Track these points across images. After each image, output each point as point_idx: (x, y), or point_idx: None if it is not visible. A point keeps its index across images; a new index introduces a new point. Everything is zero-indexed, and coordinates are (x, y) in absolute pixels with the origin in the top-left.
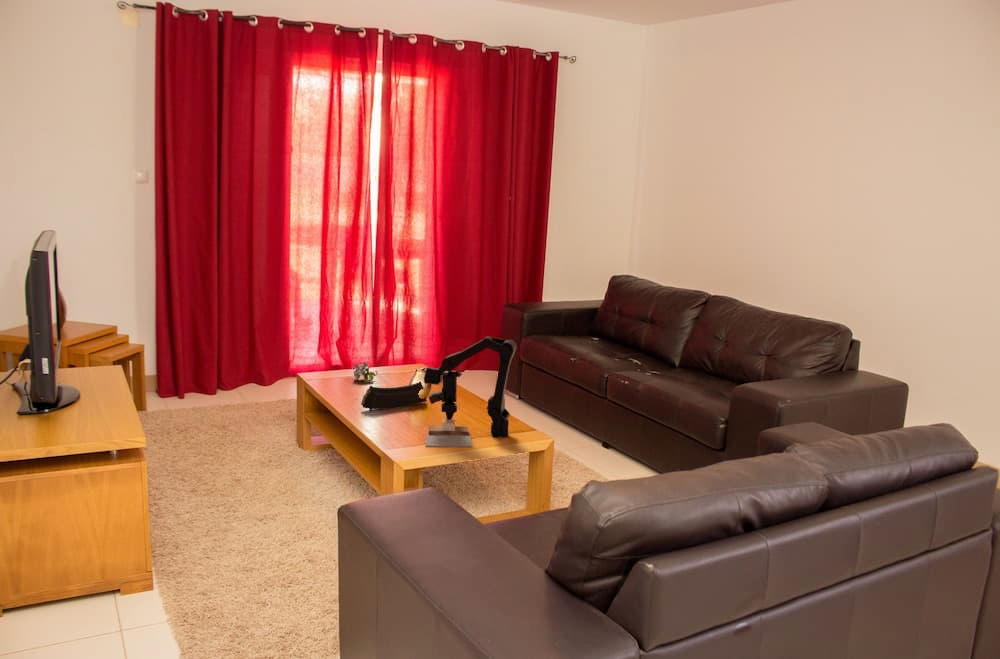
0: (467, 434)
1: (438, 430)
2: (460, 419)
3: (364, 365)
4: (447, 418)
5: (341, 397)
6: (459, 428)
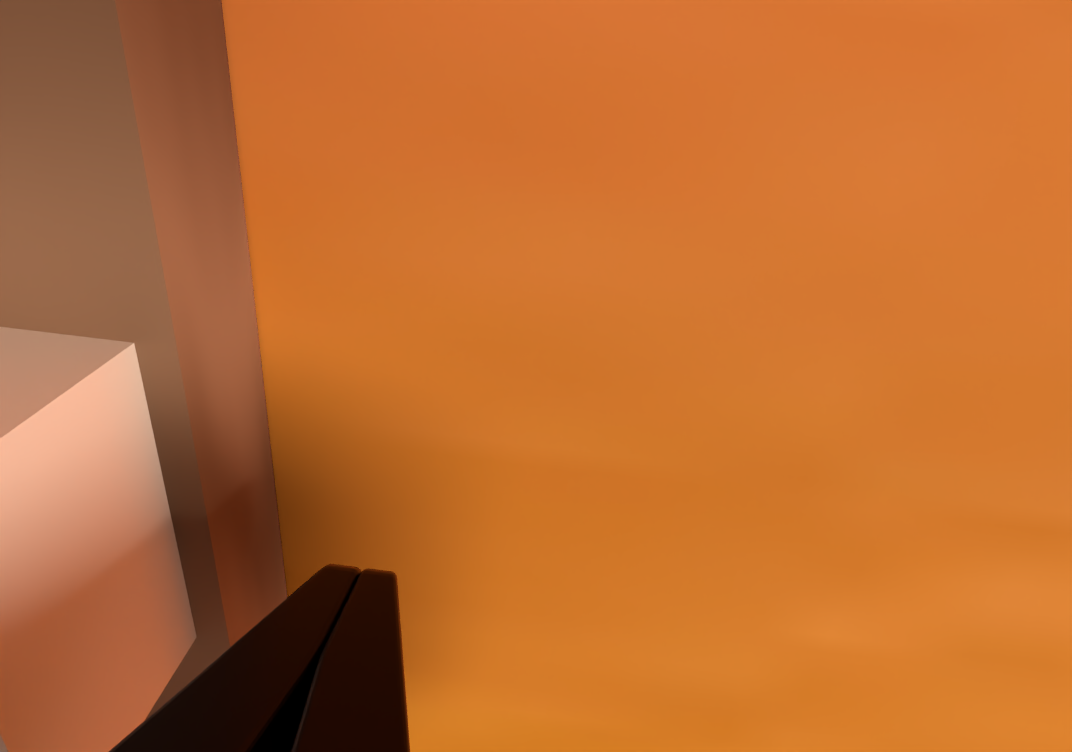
0: None
1: None
2: (1057, 743)
3: None
4: (204, 697)
5: None
6: None
